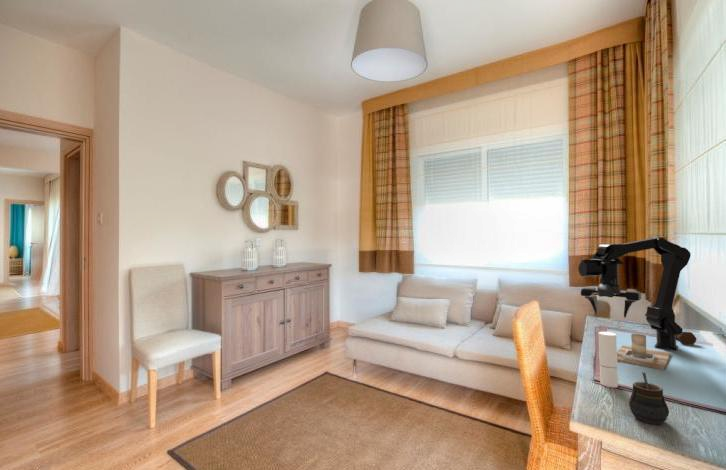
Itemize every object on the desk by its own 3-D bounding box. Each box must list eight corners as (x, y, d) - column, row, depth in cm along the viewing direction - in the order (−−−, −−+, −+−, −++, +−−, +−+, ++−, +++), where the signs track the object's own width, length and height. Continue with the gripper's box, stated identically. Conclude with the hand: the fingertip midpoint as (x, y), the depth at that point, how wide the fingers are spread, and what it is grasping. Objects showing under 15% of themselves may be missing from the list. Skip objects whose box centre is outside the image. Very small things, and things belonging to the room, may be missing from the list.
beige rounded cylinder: (633, 355, 124) (632, 333, 124) (647, 358, 121) (646, 335, 121) (631, 358, 121) (630, 335, 121) (645, 361, 118) (644, 337, 118)
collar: (627, 352, 127) (627, 349, 127) (656, 357, 121) (656, 354, 121) (622, 358, 121) (622, 355, 121) (652, 364, 115) (652, 360, 115)
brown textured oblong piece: (672, 339, 151) (690, 348, 137) (659, 333, 152) (676, 341, 138) (679, 328, 150) (699, 336, 136) (666, 321, 152) (685, 329, 138)
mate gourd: (636, 425, 80) (634, 381, 80) (624, 410, 87) (622, 370, 87) (675, 430, 78) (673, 384, 78) (659, 414, 85) (657, 373, 85)
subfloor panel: (623, 346, 136) (623, 344, 136) (670, 354, 126) (670, 352, 126) (611, 359, 122) (611, 357, 122) (663, 369, 112) (663, 367, 112)
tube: (618, 388, 99) (616, 336, 100) (600, 385, 102) (598, 334, 102) (617, 383, 103) (615, 332, 103) (599, 380, 105) (598, 330, 105)
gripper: (576, 276, 137) (577, 315, 137) (635, 279, 124) (636, 323, 123) (584, 274, 145) (585, 311, 145) (640, 276, 131) (642, 317, 131)
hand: (610, 315), depth 136 cm, fingers open, 9 cm apart
